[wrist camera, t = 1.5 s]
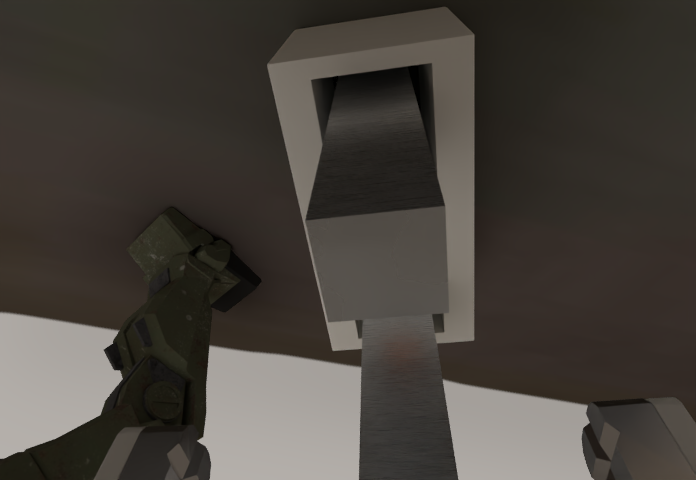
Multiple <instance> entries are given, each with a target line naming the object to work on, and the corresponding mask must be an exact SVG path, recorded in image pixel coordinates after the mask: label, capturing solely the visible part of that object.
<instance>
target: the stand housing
mask: <svg viewBox="0 0 696 480" xmlns="http://www.w3.org/2000/svg"><path fill="white" fill-rule="evenodd" d="M412 65H418V72H419V88H420V104H421V118H422V122H423V125H424V129H425V133H426V137H427V140H428V144H429V148H430V151H431V155H432V159H433V162H434V166H435V170H436V173H437V177H438V181H439V184H440V188H441V192H442V195H443V199H444V203H445V211H446V238H447V265H448V292H449V313H442V314H432V317H433V324H434V330H435V336H436V343H448V342H462V341H474V34H473V33H472V32H471V31H470V30H469V29H468V28H467V27H466V26H465V25H464V24H463V23H462V22H461V21H460V20H459V19H458V18H457V17H456V16H455V15H454V14H453V13H452V12H451V11H450V10H449V9H448V8H447V7H440V8H433V9H427V10H420V11H414V12H407V13H400V14H394V15H387V16H381V17H374V18H368V19H361V20H355V21H348V22H342V23H335V24H329V25H322V26H315V27H309V28H302V29H296V30H294V31H293V33H292V34H291V35H290V36H289V38H288V39H287V40H286V41H285V43H284V44H283V45H282V46H281V48H280V49H279V50H278V51H277V53H276V54H275V55H274V56H273V58H272V59H271V60H270V61H269V63H268V64H267V67H268V71H269V76H270V80H271V84H272V89H273V93H274V97H275V102H276V106H277V110H278V115H279V119H280V123H281V128H282V132H283V137H284V141H285V145H286V150H287V154H288V158H289V163H290V167H291V171H292V176H293V180H294V184H295V189H296V193H297V197H298V202H299V206H300V210H301V215H302V219H303V223H304V228H305V232H306V236H307V241H308V245H309V250H310V254H311V258H312V263H313V267H314V271H315V276H316V280H317V284H318V289H319V293H320V297H321V302H322V306H323V310H324V315H325V319H326V323H327V328H328V332H329V336H330V341H331V345H332V350H333V351H337V350H350V349H362V328H363V320H353V321H341V322H328V319H327V315H326V310H325V306H324V302H323V297H322V293H321V288H320V284H319V280H318V275H317V271H316V266H315V262H314V258H313V253H312V249H311V244H310V240H309V236H308V231H307V227H306V222H305V219H306V215H307V210H308V206H309V202H310V197H311V193H312V189H313V184H314V180H315V176H316V171H317V167H318V163H319V158H320V154H321V150H322V145H323V141H324V137H325V132H326V128H327V124H328V119H329V115H330V111H331V106H332V102H333V98H334V93H335V90H334V84H333V77H334V76H341V75H348V74H355V73H362V72H369V71H377V70H384V69H391V68H398V67H405V66H412Z"/></svg>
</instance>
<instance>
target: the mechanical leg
mask: <svg viewBox="0 0 696 480" xmlns="http://www.w3.org/2000/svg"><path fill="white" fill-rule="evenodd" d="M126 250H127V251H128V253H129V254H130V255H131V256H132V258H133V259H134V260H135V261H136V263H137V264H138V265H139V266H140V268H141V269H142V270H143V271H144V273H145V274H146V275H145V276H144V277H142V278H143V279H144V280H145V282H146V283H147V284H148V285H149V291H148V299H147V302H146V303H145V304H144V305H143V306H141V307H140V308H139V309H138V310H137V311H136V312H135V313H134V314H132V315H131V316H130V317H129V318H128V319H127V320H126V321H125V323H124V324H123V326H122V328H121V329H120V331H119V332H118V334H117V336H116V337H115V339H114V341H113V344H112V345H110V346H109V347H107V348H106V349H104V351H105V354H106V356H107V357H108V359H109V361H110V363H111V365H112V367H113V369H114V370H120V371H121V374H122V378H123V380H122V381H121V382H120V383H119V385H118V386H117V387H116V388H115V389H114V391H113V392H112V393H111V394H110V396H109V397H108V398H107V400H106V401H105V404H104V407H103V410H102V413H101V415H100V416H98V417H96V418H94V419H93V420H91V421H89V422H87V423H85V424H83V425H81V426H79V427H77V428H75V429H74V430H72V431H70V432H68V433H66V434H64V435H62V436H60V437H58V438H56V439H54V440H51V441H48V442H46V443H43V444H40V445H37V446H34V447H31V448H29V449H26V450H25V451H24V452H18V453H15V454H13V455H11V456H9V457H7V458H5V459H0V480H94V478H95V476H96V474H97V473H98V471H99V469H100V467H101V465H102V463H103V461H104V459H105V457H106V455H107V453H108V451H109V449H110V448H111V446H112V444H113V442H114V440H115V438H116V436H117V434H118V433H119V432H120V431H121V430H123V429H124V428H125V427H144V426H175V425H194V426H195V428H196V429H197V431H198V433H199V437H198V440H199V439H200V438H202V437H203V434H204V426H205V418H206V379H207V367H208V353H209V341H210V330H211V319H212V310H211V307H212V308H215V309H217V310H219V311H222V312H226V311H228V310H229V309H230V308H232V307H233V306H234V305H236V304H237V303H238V302H239V301H241V300H242V299H243V298H244V297H246V296H247V295H248V294H250V293H251V292H252V291H253V290H255V289H256V288H257V286H258V285H259V284H260V283H261V279H260V278H259V277H258V276H257V275H256V274H255V273H254V272H253V271H251V270H250V269H249V268H248V267H247V266H246V265H245V264H244V263H243V262H242V261H241V260H240V259H239V258H238V257H237V256H236V255H235V254H234V253H233V252H232V251H231V246H230V245H229V244H227V243H226V242H224V241H223V240H222V239H221V240H218V241H215V242H214V240H213V237H212V236H211V235H210V234H209V233H208V232H206V231H205V230H204V229H200V228H198V227H197V226H196V225H195V224H193V223H192V222H191V221H189V220H188V219H187V218H186V217H184V216H183V215H182V214H180V213H179V212H178V211H177V210H175V209H174V208H172V207H170V208H169V209H168V210H166V211H165V212H164V213H162V214H161V215H160V216H159V217H158V218H157V219H156V220H155V221H154V222H153V223H152V224H151V225H150V226H149V227H148V228H147V229H146V230H145V231H144V232H143V233H142V234H141V235H140V236H139V237H138V238H137V239H136V240H135V241H134V242H133V243H132V244H131V245H130V246H129V247H128V248H127V249H126Z"/></svg>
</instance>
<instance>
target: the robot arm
mask: <svg viewBox="0 0 696 480" xmlns="http://www.w3.org/2000/svg"><path fill="white" fill-rule="evenodd" d="M586 414H587V417H588V419H589V421H590V423H589V424H588V425H587V426H585V427H584V428H583V434H582V446H583V453H584V456H585V460H586V464H587V467H588V469H589V472H590V474H591V477H592V478H593V479H594V480H696V423H695V422H694V420H693V419H692V417H691V416H690V414H689V413H688V411H687V410H686V409H685V407H684V406H683V404H682V403H681V402H680V401H679V400H678V399H676V398H674V397H666V398H653V399H643V398H639V399H625V400H611V401H597V402H591V403H590V404H589V405H588V408H587V412H586ZM198 437H199V433H198V431H197V429H196V428H195V426H194V425H175V426H144V427H125V428H124V429H123V430H121V431H120V432H119V433H118V434H117V436H116V438H115V440H114V442H113V444H112V446H111V448H110V449H109V451H108V453H107V455H106V457H105V459H104V461H103V463H102V465H101V467H100V469H99V471H98V473H97V474H96V476H95V478H94V480H209V479H210V469H211V461H210V456H209V452H208V450H207V448H206V447H205V446H204V445H202V444H200V443H199V442H197V440H198Z"/></svg>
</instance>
